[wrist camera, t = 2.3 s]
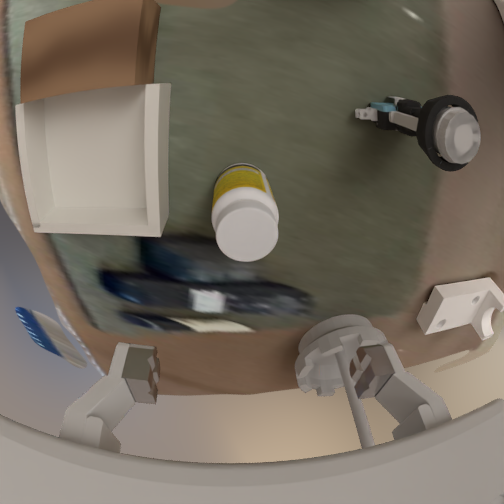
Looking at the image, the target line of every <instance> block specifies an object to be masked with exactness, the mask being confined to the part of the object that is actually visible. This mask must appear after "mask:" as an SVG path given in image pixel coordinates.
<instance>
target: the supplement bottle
mask: <svg viewBox="0 0 504 504" xmlns="http://www.w3.org/2000/svg"><path fill="white" fill-rule="evenodd" d="M211 215H212V225H213V228H214V230H215V232H216V241H217V244H218V246H219V248H220V249H221V251H222V252H223V253H224V254H225V255H227V256H228V257H230V258H231V259H234V260H237V261H243V262H250V261H255V260H258V259H261V258H263V257H265V256H266V255H267V254H269V253H270V252H271V251H272V249H273V248H274V246H275V245H276V243H277V240H278V227H277V225H278V221H279V214H278V208H277V205H276V202H275V199H274V197H273V194H272V191H271V188H270V185H269V182H268V180H267V178H266V176H265V174H264V173H263V172H262V171H261V170H260V169H258V168H257V167H255V166H253V165H251V164H247V163H237V164H233V165H231V166H229V167H227V168H226V169H224V170H223V171H222V172H221V173H220V174H219V176H218V178H217V180H216V183H215V187H214V196H213V206H212V214H211Z"/></svg>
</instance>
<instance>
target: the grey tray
mask: <svg viewBox="0 0 504 504" xmlns="http://www.w3.org/2000/svg"><path fill="white" fill-rule="evenodd" d="M170 95H171V83H157V84H143V85H132V86H120V87H110V88H101V89H93V90H86V91H80V92H74V93H68V94H62V95H57V96H52V97H47V98H43V99H38V100H34V101H30V102H26V103H22V104H18V105H15V106H16V126H17V138H18V148H19V157H20V164H21V171H22V177H23V183H24V188H25V194H26V199H27V203H28V208H29V212H30V217H31V221H32V225H33V229H34V232H40V233H71V234H99V235H125V236H150V237H161V235H162V232H163V230H164V227H165V224H166V222H167V219H168V217H169V183H168V155H169V115H170Z"/></svg>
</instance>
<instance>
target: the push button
mask: <svg viewBox="0 0 504 504" xmlns="http://www.w3.org/2000/svg"><path fill="white" fill-rule="evenodd" d="M388 97H390V98H394V99H395V103H373V102H372V103H371V107H366V109H355V117H356V118H360V119H371V121H373V122H376V127H378V128H380V129H383V130H395V131H400V132H402V133H404V134H406V135H409V136H417V139H418V144H419V146H420V147H421V148H422V149H423V151H424V152H425V153H426V154H427V156H428V157H429V159H430V160H431V161H432V163H433V164H435V165H436V166H437V167H439V168H441V169H443V170H445V171H457V170H459V169H461V168H463V167H464V166H466V165H467V164H468V163H469V162H470V161H471V160H472V158H473V157H474V156H475V155H476V153H477V152H478V148H479V146H480V140H481V138H480V137H481V133H480V127H479V125H478V120H477V117H476V114H475V112H474V110H473V108H472V107H471V106H470V104H469V103H468V102H467V101H465V100H464V99H462V98H460V97H458V96H454V95H445V96H441V97H438V98H435V99H431V100H428V101H427V102H426V103H425V104H424V106H423V107H421V104H420V103H419V102H416V101H413V100H408V99H405V98H401V97H394V96H388ZM448 105H452V106H453V107H452V108H451V107H448ZM359 114H360V115H359ZM436 152H437V153H439V154H441V155H442V157H439V156H438V155H437V153H436Z"/></svg>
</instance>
